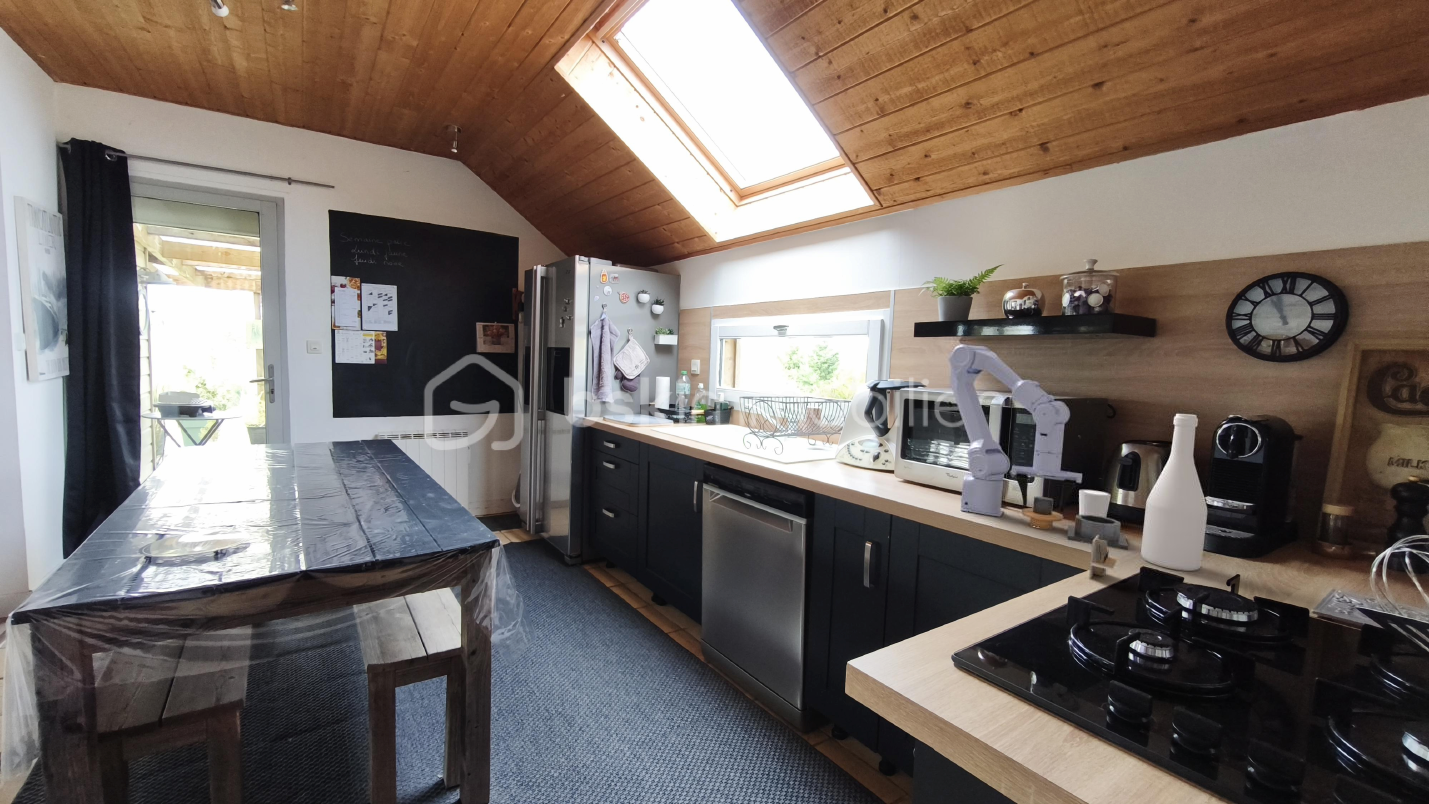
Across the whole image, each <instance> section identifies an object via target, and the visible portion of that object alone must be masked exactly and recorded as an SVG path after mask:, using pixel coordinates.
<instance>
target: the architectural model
mask: <svg viewBox="0 0 1429 804" xmlns="http://www.w3.org/2000/svg"><path fill="white" fill-rule="evenodd" d="M1098 537H1099V535H1097V536H1096V538H1095V539H1094V540H1093V543H1091V544H1092V546H1091V555H1090V566H1089V574H1088V575H1089V576H1088V579H1090V580H1091V578H1092V577H1093V576H1094V575H1096V576H1097V575H1098V576H1100V577H1104V575H1106V574H1107V570H1110V571H1113V570H1114V568H1115V566H1116V564H1117V562H1118V559H1117V558H1113V557H1109V552H1110V549H1109V548H1108V546H1107V541H1104V540H1099V539H1098Z"/></svg>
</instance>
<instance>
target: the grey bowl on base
mask: <svg viewBox="0 0 1429 804" xmlns="http://www.w3.org/2000/svg"><path fill="white" fill-rule="evenodd" d="M1074 521H1075V522H1074V525H1069V524H1067V540H1070V541H1075V540H1076V542H1081V541H1083V542H1082V543H1086V542H1087V544H1092V543H1093V540H1094V539H1095V538H1096V536H1097V535H1099V537H1098V539H1099V540H1104V541H1107V547H1110V548H1117V549H1122V550H1127V551H1128V549H1129V544H1128V542H1127V540H1126V537H1125V535H1124V533H1121V526H1122V525H1121V522H1120V521H1118V520H1116V519H1113V518H1110V517H1107V516H1106V517H1101V516H1094V515H1079V514H1076V515H1075V520H1074Z"/></svg>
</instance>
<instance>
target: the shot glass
mask: <svg viewBox="0 0 1429 804" xmlns="http://www.w3.org/2000/svg"><path fill="white" fill-rule="evenodd" d="M1078 492H1079V493H1078V495H1079V497H1078V502H1079V504H1078V505H1079V506H1078V508H1079V513H1078V515H1094V516H1101V517H1106V518H1107V514H1108V510H1109V507H1110V506H1109V505H1110V502H1111V494H1110V493H1109V492H1105V491H1099V490H1096V489H1095V490H1093V489H1079V491H1078Z"/></svg>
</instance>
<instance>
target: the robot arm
mask: <svg viewBox="0 0 1429 804" xmlns="http://www.w3.org/2000/svg"><path fill="white" fill-rule="evenodd" d="M948 361H949V364H950V373H949V374H950V375H949V376H950V377H949V383H950V386H951V389H952V393H953V396H954V399H955V401H956V405H957V407H958V411H959V414H960V416H961V419H962V422H963V425H964V428H965V431H966V434H967V437H968V440H969V442H970V445H969V447H968V449H967V451H966V453H967V457H968V462H967V465H968V470H969V472H970V473H971V475H966V474H965V475H964V477H963V481H962V491H961V497H960V511H963V512H968V511H969V513H976V514H981V515H987V516H994V517H999V518H1000V517H1001V516H1002V514H1003V512H1004V509H1003V508H1002V507H1001V506H1002V498H1003V486H1004V478H1005V474H1007V473H1008V471H1009V470H1010V466H1011V462H1010V458H1009V457H1008V455H1006V454H1005V452H1004V451H1003V450H1002V447H1001V445H1000V444H999V443H998V442H997V441H996V440H994V439H993V436H992V433H991V430H990V427H989V424H988V422H987V419H986V416H985V413H984V411H983V408H982V405H981V401H980V399H979V397H978V393H977V391H976V387H975V384H974V383H975V382H976V380H977V378H978V377H979V376H980V375H981V374H982V373H983V372H984V371H987V372H988V373H990V374H991V375H993V377H994V378H996V379H997V380H998V381H1000V382H1001V383H1002V384H1004V385H1005V386H1007V387H1008V388H1009V389H1010V390H1011V397H1012V398H1013V399H1014V400H1016V401H1017V402H1018V403H1019V404H1020V405H1021V406H1022V407H1024V408H1025V410H1027V411H1028V412H1029V413H1030V414H1031V415H1032V419H1033V421H1034V423H1035V424H1036V426H1035V427H1036V428H1035V430H1036V431H1035V441H1034V452H1033V461H1032V462H1033V464H1032V466H1031V467H1030V466H1022V465H1021V466H1019V465H1012V466H1011V475H1012V476H1013V475H1015V476H1016V477H1015V478H1016V481H1017V484H1018V487H1019V490H1020V492H1021V498H1022V506H1023V507H1027V506H1028V487H1029V485H1028V484H1029V477H1035V478H1042V479H1049V480H1056V481H1057V480H1058V481H1063V483H1062V493H1061V500H1060V505H1059V512H1064V508H1065V506H1066V503H1067V501H1068V499H1069V497H1070V495H1071V494H1072V492H1073V491H1074V489H1075V487H1076V486H1077V485H1076V484H1077V483H1078V484H1081V483H1082V480H1083V473H1078V472H1071V471H1065V470H1061V467H1062V465H1061V464H1062V456H1063V455H1062V454H1063V445H1064V444H1063V443H1064V430H1065V424H1066V423H1067V422H1069V419H1070V417H1071V412H1070V408H1069V407H1068V406H1067V405H1066V403H1065V402H1064V401H1060V400H1055V396H1053V395H1051V394H1048V393H1047V392H1046V391H1045V390H1044V389H1042V388H1041V387H1040V383H1039V382H1038V381H1035V380H1033V381H1032V380H1031V379H1024V380H1023V379H1022V378H1021V377H1020V376H1019V375H1017V373H1016V372H1014V371H1013V370H1012V369H1011V368H1010V367H1009V366H1008V364H1006V363H1005V362H1004V361H1003V360H1002V359H1001V358H1000V357H998V354H997V353H995V352H994V351H991V349H989V348H988V347H986V346H983V345H979V346H978V345H968V344H964V343H963V344H958V345H957V346H956V347H954V348H953V350H952V352H951V353H950V356H949V357H948Z"/></svg>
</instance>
